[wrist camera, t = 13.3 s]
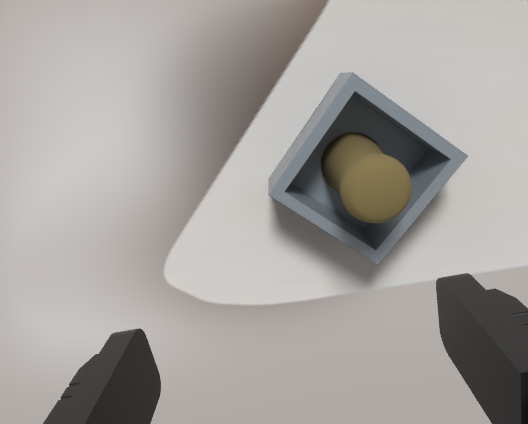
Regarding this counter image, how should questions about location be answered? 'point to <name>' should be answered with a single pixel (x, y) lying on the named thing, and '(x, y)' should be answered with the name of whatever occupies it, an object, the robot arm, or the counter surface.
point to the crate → (391, 144)
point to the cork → (366, 178)
